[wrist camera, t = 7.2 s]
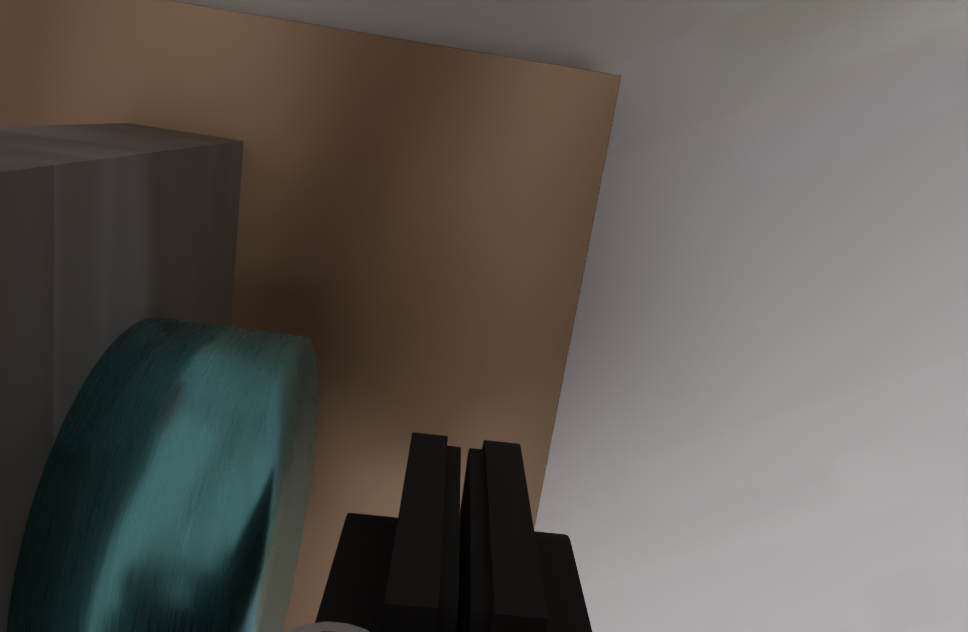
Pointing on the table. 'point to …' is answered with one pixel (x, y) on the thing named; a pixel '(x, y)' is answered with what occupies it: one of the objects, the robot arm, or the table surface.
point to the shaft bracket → (292, 231)
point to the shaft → (174, 486)
